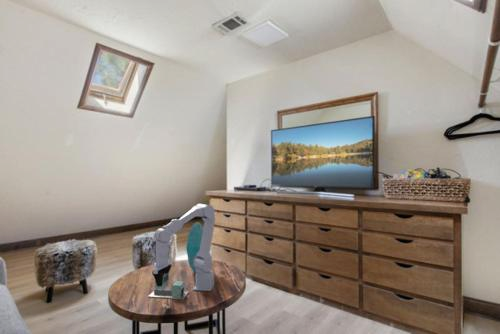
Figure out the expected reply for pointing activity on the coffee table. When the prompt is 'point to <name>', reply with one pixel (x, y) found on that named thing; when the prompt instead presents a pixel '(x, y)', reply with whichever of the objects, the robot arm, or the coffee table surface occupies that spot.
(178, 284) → the rail
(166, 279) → the block
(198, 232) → the crystal
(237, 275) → the coffee table surface
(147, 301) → the coffee table surface
